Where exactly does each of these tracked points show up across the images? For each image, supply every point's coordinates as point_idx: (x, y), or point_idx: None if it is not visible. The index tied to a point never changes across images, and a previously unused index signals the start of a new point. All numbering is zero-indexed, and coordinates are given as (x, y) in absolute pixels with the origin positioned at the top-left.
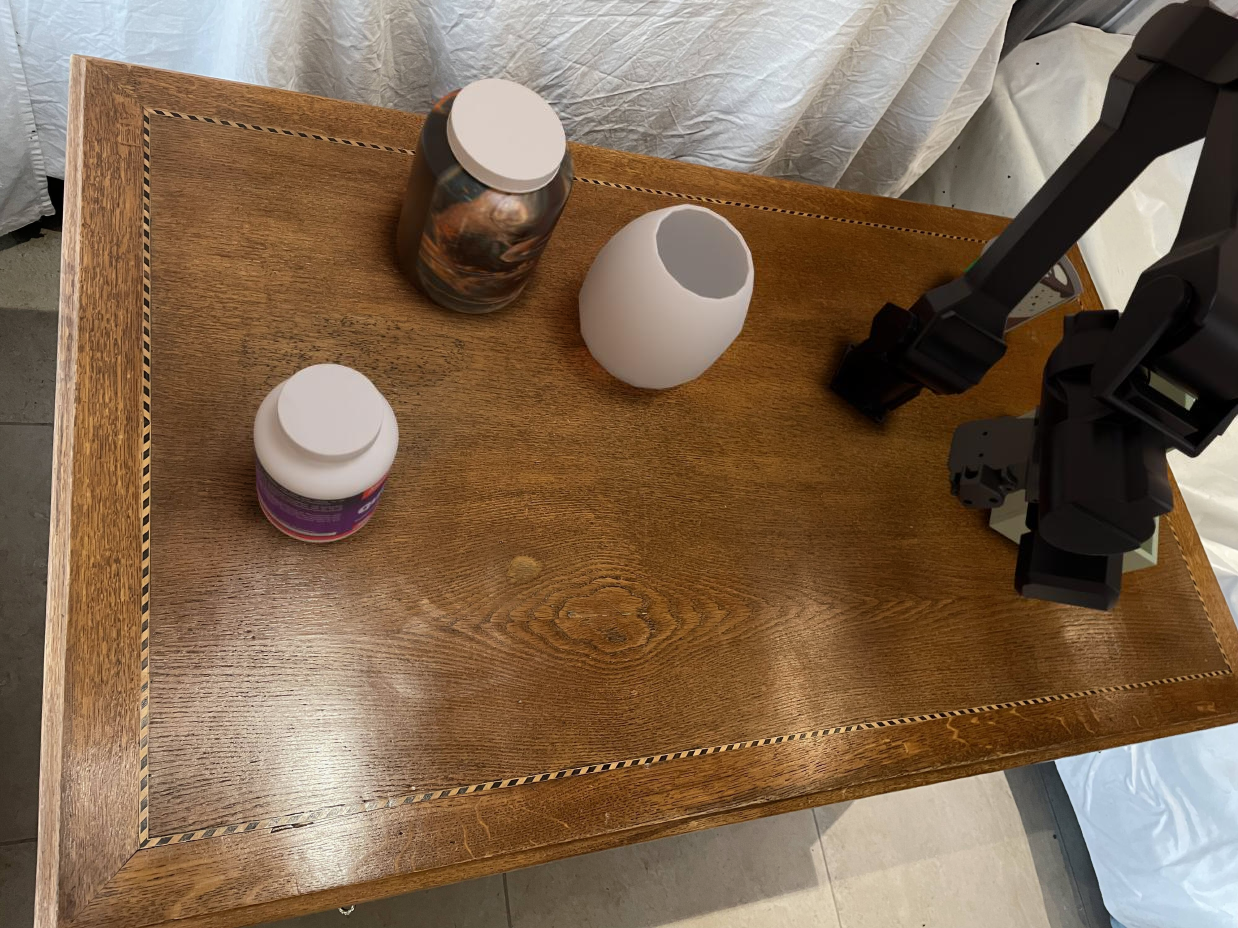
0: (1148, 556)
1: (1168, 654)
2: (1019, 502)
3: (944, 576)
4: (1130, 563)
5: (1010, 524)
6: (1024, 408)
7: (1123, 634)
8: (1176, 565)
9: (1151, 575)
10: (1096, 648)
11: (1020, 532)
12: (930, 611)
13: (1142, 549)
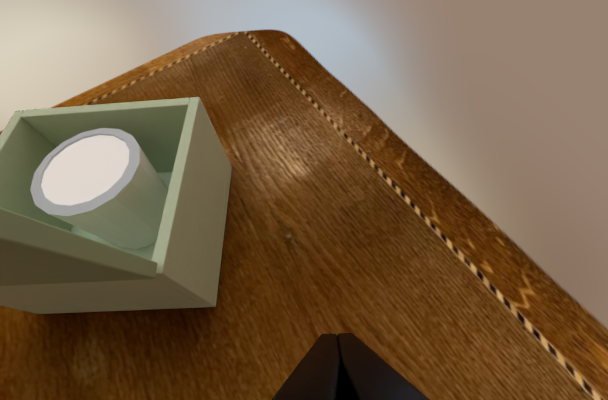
0: (192, 108)
1: (259, 75)
2: (172, 296)
3: None
4: (206, 127)
5: (208, 289)
6: None
7: (264, 115)
8: (163, 78)
9: None
10: (296, 139)
11: (212, 267)
12: None
13: (180, 116)
